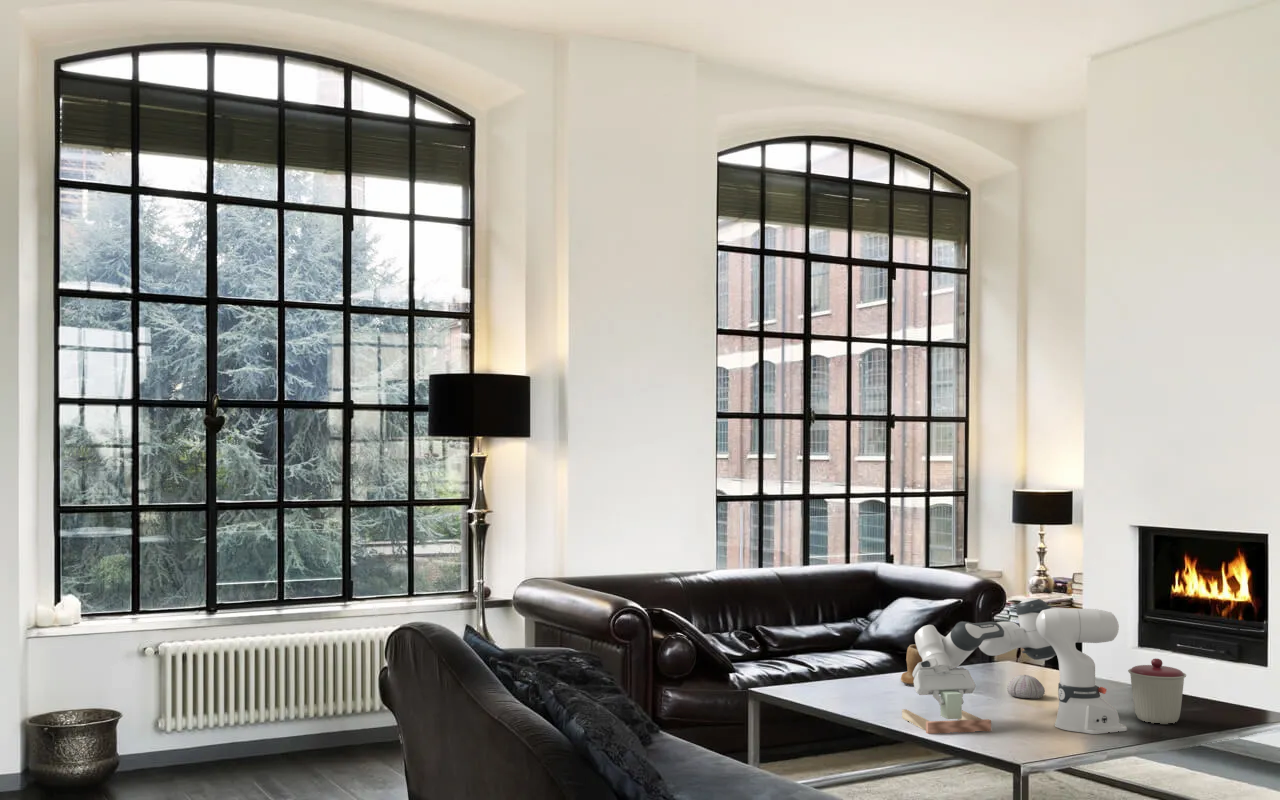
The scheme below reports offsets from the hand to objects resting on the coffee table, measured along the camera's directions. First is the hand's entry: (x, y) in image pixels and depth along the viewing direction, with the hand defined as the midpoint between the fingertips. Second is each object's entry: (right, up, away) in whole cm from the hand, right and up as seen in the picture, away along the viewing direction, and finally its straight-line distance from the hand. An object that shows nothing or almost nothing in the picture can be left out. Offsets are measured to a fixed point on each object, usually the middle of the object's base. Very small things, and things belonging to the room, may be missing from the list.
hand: (951, 703), depth 384 cm
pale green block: (0, -4, 0) cm, 4 cm away
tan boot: (+6, -12, +77) cm, 78 cm away
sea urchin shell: (+42, -11, +54) cm, 69 cm away
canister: (+73, -10, +14) cm, 76 cm away
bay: (-1, -8, +5) cm, 10 cm away
